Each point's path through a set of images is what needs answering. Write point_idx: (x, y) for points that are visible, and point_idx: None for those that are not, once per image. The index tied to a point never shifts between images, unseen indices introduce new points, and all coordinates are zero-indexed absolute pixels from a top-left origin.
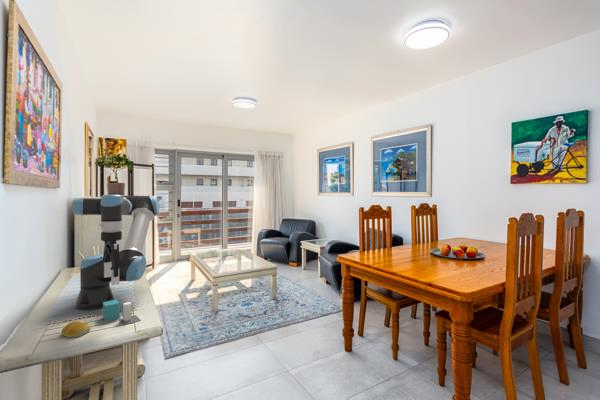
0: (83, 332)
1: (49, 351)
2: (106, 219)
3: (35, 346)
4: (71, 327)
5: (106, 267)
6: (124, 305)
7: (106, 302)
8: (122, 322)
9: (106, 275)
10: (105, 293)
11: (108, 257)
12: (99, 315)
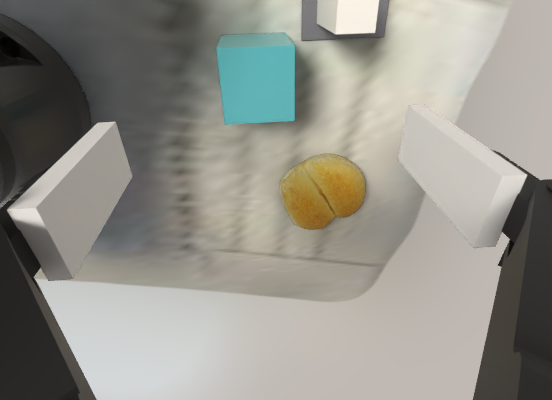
0: (363, 176)
1: (399, 240)
2: None
3: (340, 264)
4: (333, 213)
5: (89, 218)
6: (372, 32)
7: (237, 108)
8: (355, 34)
9: (121, 170)
10: (8, 81)
11: (49, 314)
12: (189, 106)
